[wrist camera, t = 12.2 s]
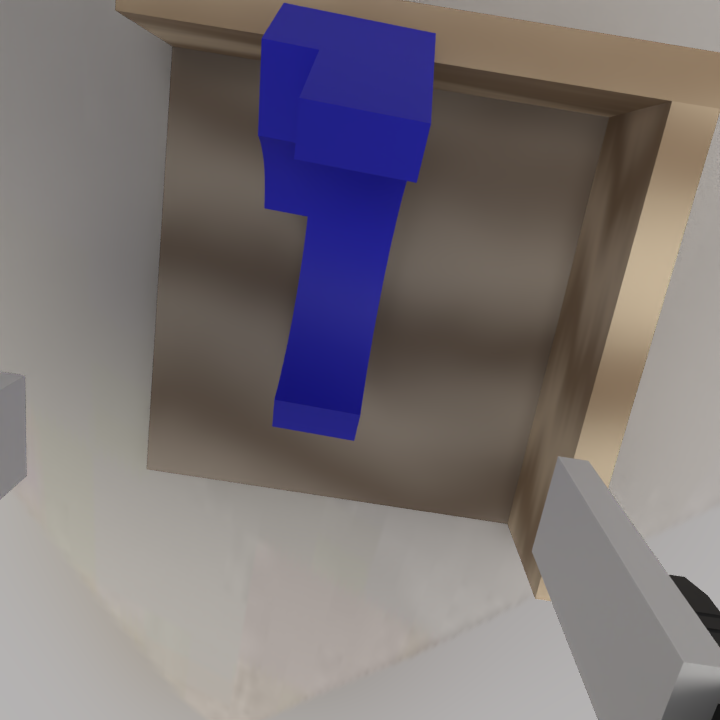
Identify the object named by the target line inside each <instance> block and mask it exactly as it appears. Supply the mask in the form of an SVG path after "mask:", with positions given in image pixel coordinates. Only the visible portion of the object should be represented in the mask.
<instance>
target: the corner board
mask: <svg viewBox="0 0 720 720" xmlns="http://www.w3.org/2000/svg"><path fill="white" fill-rule="evenodd" d="M283 3H288V4H293V5H298V6H303V7H308V8H313V9H318V10H322V11H327V12H332V13H337V14H342V15H347V16H352V17H357V18H362V19H367V20H372V21H377V22H382V23H387V24H392V25H397V26H402V27H407V28H412V29H417V30H422V31H427V32H431V33H436V41H435V59H434V78H433V96H432V115H431V126H430V130H429V134H428V138H427V142H426V146H425V151H424V155H423V159H422V163H421V167H420V171H419V175H418V179H417V183H415V182H409V181H407V183H406V186H405V190H404V193H403V197H402V201H401V205H400V209H399V213H398V217H397V221H396V225H395V230H394V234H393V238H392V243H391V247H390V252H389V257H388V261H387V266H386V271H385V276H384V281H383V286H382V291H381V296H380V301H379V306H378V312H377V317H376V322H375V328H374V333H373V339H372V345H371V351H370V356H369V362H368V368H367V375H366V381H365V387H364V394H363V401H362V408H361V415H360V419H359V423H358V427H357V431H356V436H355V440H354V441H351V440H346V439H340V438H335V437H329V436H323V435H318V434H312V433H306V432H301V431H295V430H289V429H284V428H278V427H273V426H272V422H273V410H274V399H275V395H276V391H277V387H278V383H279V379H280V375H281V371H282V366H283V362H284V357H285V353H286V348H287V343H288V338H289V333H290V328H291V323H292V318H293V312H294V307H295V301H296V295H297V289H298V283H299V277H300V271H301V264H302V257H303V250H304V242H305V235H306V226H307V218H308V217H307V216H302V215H296V214H291V213H286V212H280V211H275V210H270V209H265V208H264V202H265V174H264V159H263V152H262V147H261V143H260V140H259V137H258V122H259V95H260V67H261V40H262V37H263V35H264V34H265V32H266V30H267V29H268V27H269V26H270V24H271V22H272V21H273V19H274V17H275V16H276V14H277V13H278V11H279V9H280V8H281V6H282V5H283ZM115 10H116V11H117V12H119V13H120V14H122V15H124V16H125V17H127V18H128V19H130V20H132V21H133V22H135V23H136V24H138V25H139V26H141V27H143V28H144V29H146V30H147V31H149V32H151V33H152V34H154V35H155V36H157V37H158V38H160V39H162V40H163V41H165V42H166V43H168V44H170V45H171V46H172V62H171V78H170V95H169V111H168V128H167V144H166V160H165V177H164V193H163V209H162V226H161V242H160V259H159V275H158V291H157V308H156V324H155V340H154V357H153V373H152V390H151V406H150V422H149V439H148V455H147V469H149V470H156V471H162V472H169V473H175V474H182V475H189V476H195V477H202V478H208V479H215V480H222V481H228V482H235V483H241V484H248V485H255V486H261V487H268V488H274V489H281V490H287V491H294V492H301V493H307V494H314V495H320V496H327V497H334V498H340V499H347V500H353V501H360V502H367V503H373V504H380V505H386V506H393V507H400V508H406V509H413V510H419V511H426V512H433V513H439V514H446V515H452V516H459V517H465V518H472V519H479V520H485V521H492V522H498V523H505V524H508V527H509V529H510V532H511V535H512V537H513V540H514V543H515V545H516V548H517V551H518V553H519V556H520V559H521V562H522V564H523V567H524V570H525V572H526V575H527V578H528V580H529V583H530V586H531V589H532V591H533V594H534V597H535V599H541V600H547V601H551V599H550V596H549V594H548V591H547V589H546V586H545V584H544V581H543V579H542V576H541V574H540V571H539V568H538V566H537V563H536V561H535V558H534V556H533V553H532V548H533V545H534V541H535V538H536V534H537V530H538V527H539V523H540V519H541V516H542V512H543V509H544V505H545V501H546V498H547V494H548V490H549V487H550V483H551V480H552V476H553V472H554V469H555V465H556V462H557V458H558V456H560V457H567V458H573V459H580V460H586V461H589V462H590V464H591V465H592V466H593V468H594V469H595V471H596V472H597V474H598V475H599V476H600V478H601V479H602V481H603V482H604V484H605V485H606V486H607V488H608V487H609V483H610V480H611V477H612V473H613V470H614V467H615V463H616V460H617V456H618V453H619V450H620V446H621V443H622V440H623V436H624V433H625V430H626V426H627V423H628V419H629V416H630V413H631V409H632V406H633V403H634V399H635V396H636V392H637V389H638V386H639V382H640V379H641V376H642V372H643V369H644V366H645V362H646V359H647V355H648V352H649V349H650V345H651V342H652V339H653V335H654V332H655V328H656V325H657V322H658V318H659V315H660V312H661V308H662V305H663V302H664V298H665V295H666V291H667V288H668V285H669V281H670V278H671V275H672V271H673V268H674V264H675V261H676V258H677V254H678V251H679V248H680V244H681V241H682V238H683V234H684V231H685V227H686V224H687V221H688V217H689V214H690V211H691V207H692V204H693V200H694V197H695V194H696V190H697V187H698V184H699V180H700V177H701V174H702V170H703V167H704V163H705V160H706V157H707V153H708V150H709V147H710V143H711V140H712V136H713V133H714V130H715V126H716V123H717V120H718V116H719V113H720V53H719V52H713V51H707V50H701V49H695V48H689V47H683V46H676V45H670V44H664V43H658V42H652V41H646V40H640V39H634V38H628V37H622V36H616V35H610V34H604V33H597V32H591V31H585V30H579V29H573V28H567V27H561V26H555V25H549V24H543V23H537V22H531V21H524V20H518V19H512V18H506V17H500V16H494V15H488V14H482V13H476V12H470V11H464V10H458V9H452V8H445V7H439V6H433V5H427V4H421V3H415V2H409V1H403V0H116V5H115Z"/></svg>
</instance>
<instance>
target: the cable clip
mask: <svg viewBox="0 0 720 720" xmlns="http://www.w3.org/2000/svg"><path fill="white" fill-rule="evenodd" d="M435 41H436V33H431V32H427V31H422V30H417V29H412V28H407V27H402V26H397V25H392V24H387V23H382V22H377V21H372V20H367V19H362V18H357V17H352V16H347V15H342V14H337V13H332V12H327V11H322V10H318V9H313V8H308V7H303V6H298V5H293V4H288V3H283V5H282V6H281V8H280V9H279V11H278V13H277V14H276V16H275V17H274V19H273V21H272V22H271V24H270V26H269V27H268V29H267V30H266V32H265V34H264V35H263V37H262V40H261V67H260V95H259V122H258V137H259V140H260V143H261V147H262V152H263V159H264V174H265V202H264V208H265V209H270V210H275V211H280V212H286V213H291V214H296V215H302V216H307V217H308V218H307V226H306V235H305V242H304V250H303V257H302V264H301V271H300V277H299V283H298V289H297V295H296V301H295V307H294V312H293V318H292V323H291V328H290V333H289V338H288V343H287V348H286V353H285V357H284V362H283V366H282V371H281V375H280V379H279V383H278V387H277V391H276V395H275V399H274V410H273V422H272V426H273V427H278V428H284V429H289V430H295V431H301V432H306V433H312V434H318V435H323V436H329V437H335V438H340V439H346V440H351V441H354V440H355V436H356V431H357V427H358V423H359V419H360V415H361V408H362V401H363V394H364V387H365V381H366V375H367V368H368V362H369V356H370V351H371V345H372V339H373V333H374V328H375V322H376V317H377V312H378V306H379V301H380V296H381V291H382V286H383V281H384V276H385V271H386V266H387V261H388V257H389V252H390V247H391V243H392V238H393V234H394V230H395V225H396V221H397V217H398V213H399V209H400V205H401V201H402V197H403V193H404V190H405V186H406V183H407V181H409V182H415V183H417V179H418V175H419V171H420V167H421V163H422V159H423V155H424V151H425V146H426V142H427V138H428V134H429V130H430V126H431V115H432V96H433V78H434V59H435Z"/></svg>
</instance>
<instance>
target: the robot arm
mask: <svg viewBox="0 0 720 720" xmlns="http://www.w3.org/2000/svg"><path fill="white" fill-rule="evenodd" d="M26 476H27V475H26V394H25V375H21V374H14V373H7V372H1V371H0V499H1V498H2V497H3V496H5V495H6V494H7V493H8V492H9V491H10V490H11V489H13V488H14V487H15V486H16V485H17V484H18V483H19V482H20V481H21V480H23V479H24V478H25V477H26ZM532 553H533V556H534V558H535V561H536V563H537V566H538V568H539V571H540V574H541V576H542V579H543V581H544V584H545V586H546V589H547V591H548V594H549V596H550V599H551V601H552V604H553V607H554V609H555V612H556V614H557V617H558V619H559V622H560V624H561V627H562V629H563V632H564V634H565V637H566V640H567V642H568V644H569V647H570V649H571V652H572V655H573V657H574V659H575V662H576V665H577V667H578V670H579V673H580V675H581V678H582V680H583V683H584V685H585V688H586V690H587V693H588V695H589V698H590V700H591V703H592V705H593V708H594V711H595V713H596V715H597V718H598V720H720V611H719V610H718V608H717V607H716V606H715V605H714V603H713V602H712V601H711V599H710V598H709V597H708V595H706V594H705V593H704V592H702V591H701V590H700V589H699V588H698V587H696V586H695V585H694V584H693V583H691V582H690V581H689V580H688V579H686V578H685V577H680V576H673V575H668V573H667V572H666V570H665V569H664V568H663V566H662V565H661V563H660V562H659V560H658V559H657V558H656V556H655V555H654V553H653V552H652V551H651V549H650V548H649V546H648V545H647V543H646V542H645V540H644V539H643V538H642V536H641V535H640V533H639V532H638V531H637V529H636V528H635V526H634V525H633V523H632V522H631V521H630V519H629V518H628V516H627V515H626V513H625V512H624V511H623V509H622V508H621V506H620V505H619V503H618V502H617V501H616V499H615V498H614V496H613V495H612V494H611V492H610V491H609V489H608V488H607V486H606V485H605V484H604V482H603V481H602V479H601V478H600V476H599V475H598V474H597V472H596V471H595V469H594V468H593V466H592V465H591V464H590V462H589V461H586V460H580V459H573V458H567V457H560V456H558V458H557V462H556V465H555V469H554V472H553V476H552V480H551V483H550V487H549V490H548V494H547V498H546V501H545V505H544V509H543V512H542V516H541V519H540V523H539V527H538V530H537V534H536V538H535V541H534V545H533V548H532Z"/></svg>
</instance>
